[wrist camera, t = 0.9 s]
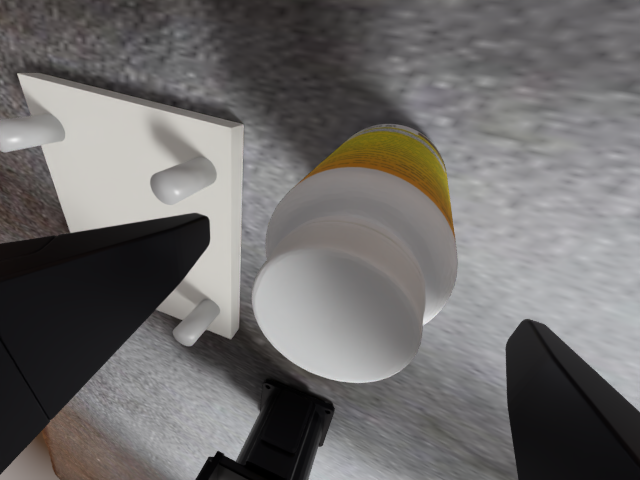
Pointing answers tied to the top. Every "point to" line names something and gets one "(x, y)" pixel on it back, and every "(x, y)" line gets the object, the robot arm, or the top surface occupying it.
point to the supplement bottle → (359, 257)
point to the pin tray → (143, 180)
